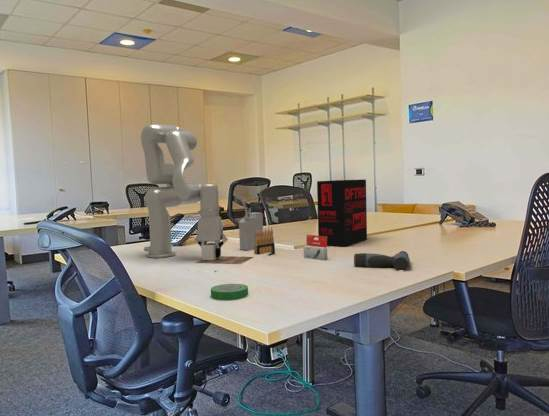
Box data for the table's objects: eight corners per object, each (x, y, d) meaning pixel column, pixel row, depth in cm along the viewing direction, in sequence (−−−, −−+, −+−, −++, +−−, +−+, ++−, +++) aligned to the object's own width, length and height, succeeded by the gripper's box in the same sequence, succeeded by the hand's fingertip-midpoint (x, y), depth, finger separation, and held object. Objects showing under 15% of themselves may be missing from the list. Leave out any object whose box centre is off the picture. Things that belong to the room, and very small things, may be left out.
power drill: (359, 260, 185) (410, 262, 179) (352, 270, 167) (409, 272, 161) (359, 247, 185) (410, 248, 178) (352, 255, 167) (408, 257, 161)
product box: (342, 238, 248) (341, 180, 246) (367, 240, 240) (365, 179, 238) (318, 245, 226) (317, 181, 224) (344, 247, 218) (343, 180, 216)
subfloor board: (194, 265, 183) (194, 262, 183) (211, 258, 198) (211, 255, 198) (240, 267, 177) (240, 263, 177) (254, 259, 192) (254, 256, 192)
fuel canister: (244, 251, 215) (242, 198, 213) (236, 250, 218) (234, 198, 216) (264, 246, 227) (262, 197, 225) (256, 246, 230) (254, 197, 228)
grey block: (201, 260, 186) (201, 245, 186) (210, 256, 194) (209, 242, 193) (213, 260, 185) (212, 245, 184) (221, 256, 192) (220, 242, 192)
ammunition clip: (257, 257, 198) (256, 230, 197) (254, 256, 200) (253, 229, 199) (275, 254, 205) (274, 227, 204) (272, 253, 207) (271, 227, 206)
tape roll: (219, 290, 142) (219, 282, 142) (253, 292, 139) (252, 283, 139) (204, 300, 132) (204, 291, 131) (240, 302, 128) (240, 292, 128)
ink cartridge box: (324, 260, 186) (323, 236, 185) (303, 258, 193) (302, 235, 193) (328, 259, 188) (327, 236, 187) (307, 257, 195) (306, 234, 195)
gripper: (187, 214, 187) (188, 258, 188) (225, 214, 182) (227, 259, 183) (195, 213, 194) (197, 255, 195) (232, 212, 189) (234, 256, 190)
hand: (211, 256), depth 189 cm, fingers closed on grey block, 5 cm apart
